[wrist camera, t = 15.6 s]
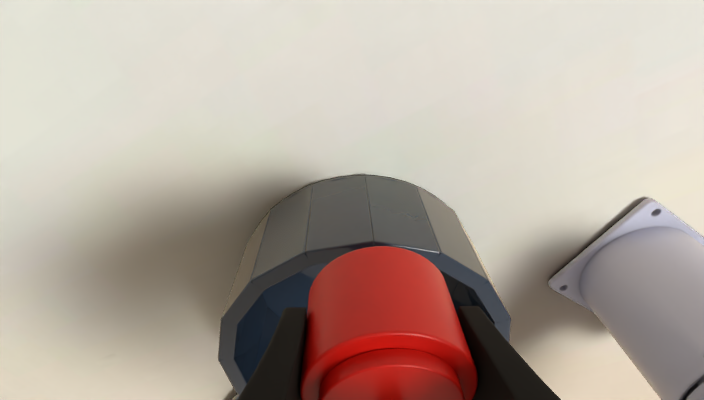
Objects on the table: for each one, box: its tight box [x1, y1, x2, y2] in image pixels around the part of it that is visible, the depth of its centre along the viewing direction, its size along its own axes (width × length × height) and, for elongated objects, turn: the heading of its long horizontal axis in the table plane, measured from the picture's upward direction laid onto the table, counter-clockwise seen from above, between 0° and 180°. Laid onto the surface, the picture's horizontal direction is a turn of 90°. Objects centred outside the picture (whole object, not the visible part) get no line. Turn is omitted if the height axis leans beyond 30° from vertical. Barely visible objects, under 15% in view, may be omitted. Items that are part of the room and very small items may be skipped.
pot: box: [218, 175, 511, 395], centre depth 22 cm, size 15×15×6 cm
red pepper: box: [300, 246, 478, 400], centre depth 11 cm, size 5×5×5 cm
